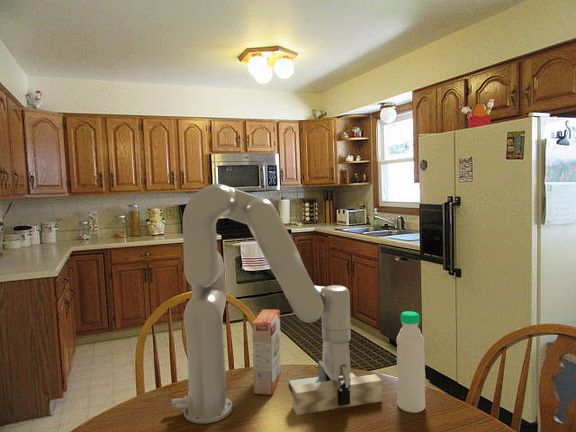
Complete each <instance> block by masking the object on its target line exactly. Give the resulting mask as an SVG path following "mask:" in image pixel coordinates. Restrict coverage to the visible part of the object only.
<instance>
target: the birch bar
mask: <svg viewBox="0 0 576 432" xmlns="http://www.w3.org/2000/svg"><path fill="white" fill-rule="evenodd" d="M350 379H351V382H350V385H351V386H350V404H349V405H342V406H339V405H338V397H337V390H339V388H338V384H337V380H335V381H325V382H318V383H311V384H304V385H297V386H292V388H291V393H292V394H291V395H292V396H291V397H292V409H293V410H294V413H295V414H296V416H299V415H304V414H312V413H317V412H316V411H318V412H323V411H328V410H329V409H330V410H336V409H335V408H337V409H341V408H342V409H343V408H347V407H353V406H355V407H356V406H360V405H365V404H367V405H368V404H371V403H378V402H383V379H381V378H380V377H379V376H378V375H377V374H376V373H374V374H369V375H368V374H367V375H366V374H365V375H361V376H356V377H352V378H350ZM340 382H341V385H342V384H343V383H344V381H340ZM330 410H329V411H330Z"/></svg>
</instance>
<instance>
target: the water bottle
mask: <svg viewBox="0 0 576 432" xmlns="http://www.w3.org/2000/svg"><path fill="white" fill-rule="evenodd" d="M420 320H421V317H420V314H419V313H418V312H415V311H403V312H401V314H400V323H401V324H402V327H401V328H400V330H399V332H398V335H397V336H396V342H395V343H396V345H397V346H396V374H397V375H396V376H397V381H396V386H397V388H396V389H397V395H396V397H397V398H396V399H397V400H396V401H397V406H398V408H399V409H401V410H402V411H404V412H407V413H410V414H411V413H413V414H416V413H417V414H418V413H420V412H421V413H422V411H424V410H425V408H426V395H425V393H426V384H425V377H426V376H425V374H426V364H425V363H426V358H425V343H426V342H425V339H424V336H423V334H422V331H421V329H420V328H419V324H420Z"/></svg>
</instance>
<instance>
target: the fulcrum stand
mask: <svg viewBox="0 0 576 432" xmlns="http://www.w3.org/2000/svg"><path fill="white" fill-rule="evenodd" d="M317 363H318V376H315V377H307V378H300V379H299V378H298V379H292V380H291V379H290V380H288V383H289V386H290V388H291V389H292V386H297V385H304V384H311V383H318V382H325V381H326V374H327V373H326V372H325V371H324V369H323V366H322V360H319V361H318V362H317ZM341 377H343V376H339V378H341ZM352 377H357V375H355V374H354V373H353V372H350V378H352Z"/></svg>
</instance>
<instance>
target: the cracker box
mask: <svg viewBox="0 0 576 432" xmlns="http://www.w3.org/2000/svg"><path fill="white" fill-rule="evenodd" d="M251 326H252V328H251V329H252V361H253V365H252V366H253V367H252V369H253V394H254V395H265V396H266V395H267V396H273V395H274V393H275V389H276V387H277V384H278V382H279V380H280V378H281V376H282V375H281V374H282V370H281V369H282V367H281V366H282V365H281V363H282V359H281V354H282V353H281V352H282V351H281V311H280V309H261V311H260V313H259V314H258V315H257V316H256V317H255V319H254V320H253V322H252V325H251Z"/></svg>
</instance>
